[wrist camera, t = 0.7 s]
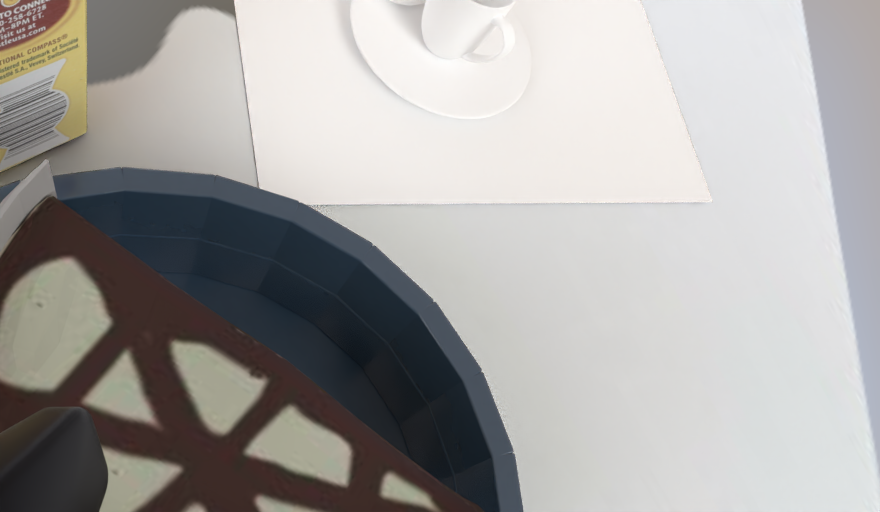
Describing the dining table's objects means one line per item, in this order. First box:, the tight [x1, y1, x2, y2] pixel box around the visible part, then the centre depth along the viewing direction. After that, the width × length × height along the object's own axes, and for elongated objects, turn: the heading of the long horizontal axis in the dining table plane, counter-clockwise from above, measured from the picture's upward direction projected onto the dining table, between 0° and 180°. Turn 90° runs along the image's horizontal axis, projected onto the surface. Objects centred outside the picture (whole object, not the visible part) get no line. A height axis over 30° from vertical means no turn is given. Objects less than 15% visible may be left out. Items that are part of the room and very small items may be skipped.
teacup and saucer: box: [349, 0, 532, 120], centre depth 32 cm, size 9×8×4 cm
